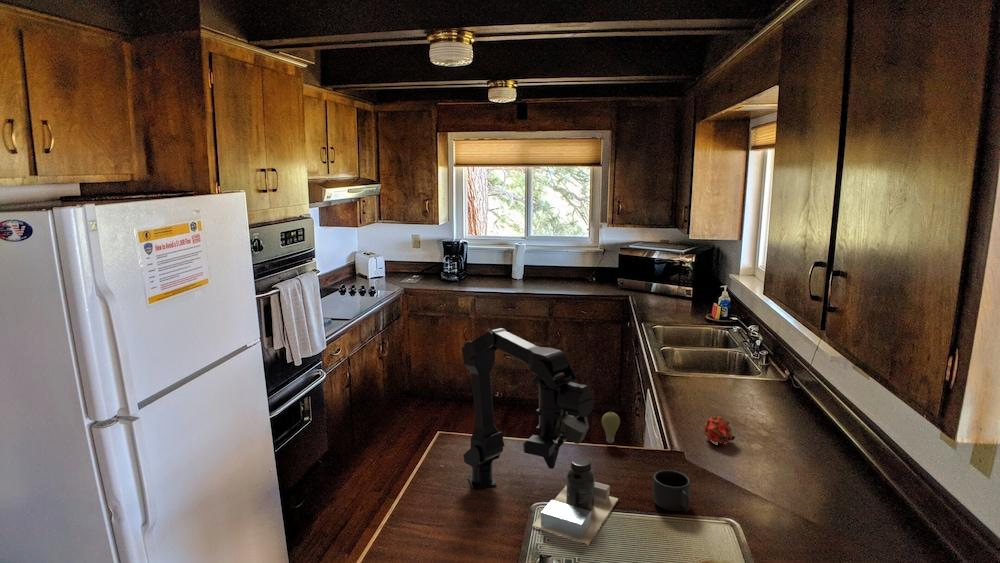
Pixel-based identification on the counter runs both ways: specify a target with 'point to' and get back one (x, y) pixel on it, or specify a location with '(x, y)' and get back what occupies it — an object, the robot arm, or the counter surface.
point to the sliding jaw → (566, 518)
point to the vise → (598, 513)
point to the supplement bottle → (580, 484)
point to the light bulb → (610, 425)
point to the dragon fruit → (718, 430)
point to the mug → (671, 490)
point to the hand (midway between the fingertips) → (551, 468)
